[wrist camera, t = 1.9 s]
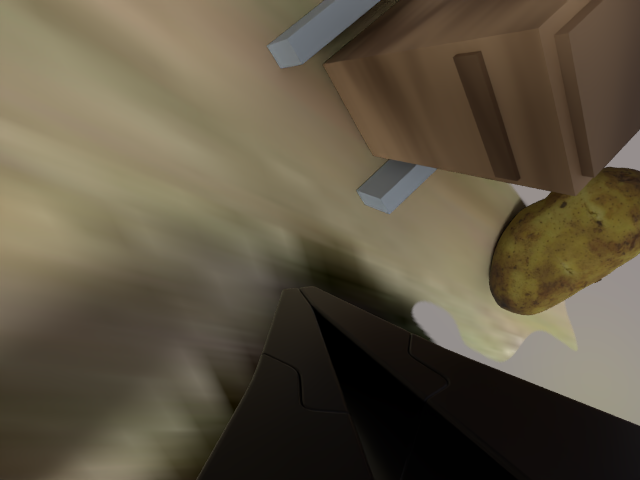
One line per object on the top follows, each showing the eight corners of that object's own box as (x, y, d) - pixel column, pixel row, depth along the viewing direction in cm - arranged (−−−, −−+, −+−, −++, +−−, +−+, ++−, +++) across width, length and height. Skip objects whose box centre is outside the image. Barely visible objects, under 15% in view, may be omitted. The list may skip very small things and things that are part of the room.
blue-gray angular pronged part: (365, 204, 24) (447, 237, 19) (266, 45, 19) (340, 20, 13) (547, 33, 28) (667, 15, 22) (509, -147, 22) (658, -237, 16)
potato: (457, 241, 30) (560, 281, 23) (563, 143, 32) (683, 153, 26) (484, 309, 34) (578, 360, 27) (575, 217, 36) (681, 243, 30)
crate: (370, 157, 23) (584, 202, 13) (319, 66, 20) (548, 30, 10) (450, 85, 25) (703, 73, 14) (414, -12, 21) (706, -117, 11)
